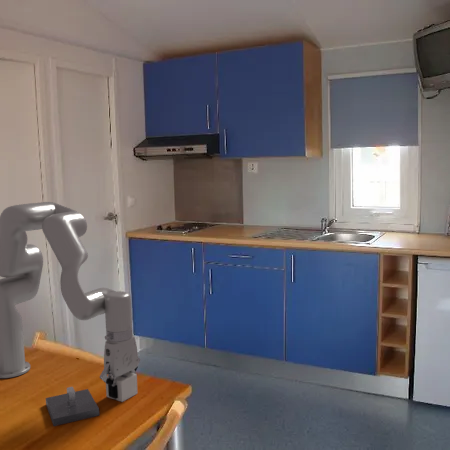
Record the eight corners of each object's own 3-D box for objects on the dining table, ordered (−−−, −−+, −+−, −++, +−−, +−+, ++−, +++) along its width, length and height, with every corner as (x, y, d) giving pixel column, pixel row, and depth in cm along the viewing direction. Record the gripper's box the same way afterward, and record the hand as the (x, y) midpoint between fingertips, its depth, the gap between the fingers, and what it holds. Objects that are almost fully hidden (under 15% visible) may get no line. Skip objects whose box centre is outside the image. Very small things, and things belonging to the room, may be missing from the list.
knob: (106, 396, 154) (105, 376, 153) (121, 388, 159) (121, 368, 158) (122, 401, 150) (121, 381, 149) (137, 393, 156) (136, 373, 155)
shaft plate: (46, 404, 150) (44, 384, 149) (88, 395, 155) (87, 376, 154) (53, 426, 137) (52, 404, 137) (99, 415, 143) (98, 394, 142)
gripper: (106, 345, 143) (109, 407, 145) (148, 328, 157) (151, 384, 160) (87, 340, 147) (90, 401, 149) (130, 324, 162) (132, 379, 164)
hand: (121, 392), depth 155 cm, fingers closed on knob, 6 cm apart
